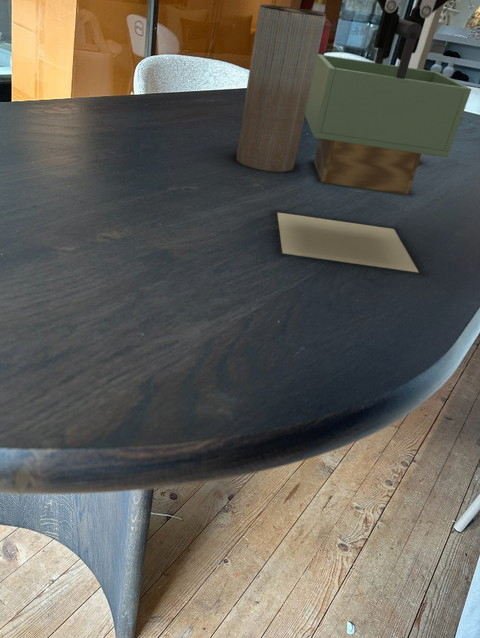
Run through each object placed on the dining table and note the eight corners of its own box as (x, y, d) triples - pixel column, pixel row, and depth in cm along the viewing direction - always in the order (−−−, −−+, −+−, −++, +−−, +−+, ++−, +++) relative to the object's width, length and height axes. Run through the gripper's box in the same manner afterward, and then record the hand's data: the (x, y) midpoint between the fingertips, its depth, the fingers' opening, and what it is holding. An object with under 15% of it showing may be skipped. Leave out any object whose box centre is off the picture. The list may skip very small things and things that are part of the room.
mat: (393, 231, 80) (394, 228, 79) (417, 275, 68) (418, 272, 68) (276, 215, 79) (277, 212, 79) (281, 256, 68) (282, 252, 68)
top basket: (419, 131, 72) (453, 25, 65) (447, 157, 62) (491, 34, 55) (304, 114, 71) (327, 6, 65) (313, 137, 61) (342, 12, 55)
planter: (242, 171, 95) (269, 7, 82) (230, 153, 103) (252, 2, 90) (301, 175, 97) (335, 16, 84) (284, 158, 105) (314, 10, 92)
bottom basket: (392, 175, 105) (405, 130, 100) (407, 196, 95) (423, 148, 90) (313, 164, 104) (323, 118, 100) (320, 184, 94) (332, 134, 90)
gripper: (376, -199, 48) (322, 51, 59) (561, -170, 49) (475, 74, 59) (361, -180, 55) (315, 44, 65) (526, -154, 55) (453, 65, 65)
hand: (392, 57), depth 62 cm, fingers closed on top basket, 1 cm apart
